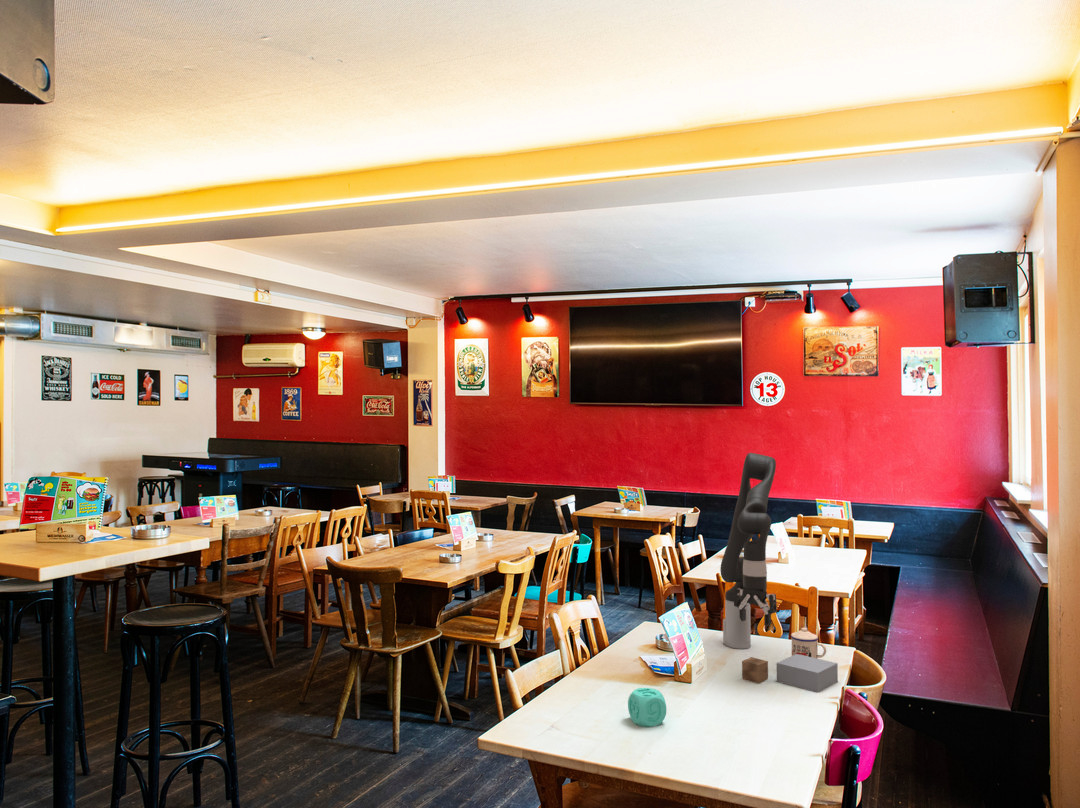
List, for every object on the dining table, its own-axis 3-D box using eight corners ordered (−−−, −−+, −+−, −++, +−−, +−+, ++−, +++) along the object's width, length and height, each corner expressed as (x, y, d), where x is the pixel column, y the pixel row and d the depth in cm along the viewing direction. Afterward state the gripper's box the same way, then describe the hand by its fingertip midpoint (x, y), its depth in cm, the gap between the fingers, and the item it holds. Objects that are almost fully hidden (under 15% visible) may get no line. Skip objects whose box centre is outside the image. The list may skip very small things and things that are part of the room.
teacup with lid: (787, 662, 260) (787, 628, 261) (796, 656, 267) (795, 623, 268) (822, 668, 253) (821, 634, 253) (830, 662, 260) (829, 629, 260)
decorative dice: (652, 714, 211) (652, 686, 212) (666, 724, 204) (666, 695, 204) (627, 718, 209) (627, 689, 209) (641, 728, 201) (641, 699, 201)
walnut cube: (742, 679, 242) (742, 660, 242) (751, 675, 246) (751, 657, 246) (758, 683, 238) (758, 665, 238) (768, 679, 242) (767, 661, 242)
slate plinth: (776, 681, 240) (776, 662, 240) (796, 671, 250) (796, 653, 250) (818, 692, 230) (818, 672, 230) (837, 681, 240) (837, 663, 240)
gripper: (729, 572, 246) (729, 621, 245) (769, 578, 236) (769, 629, 235) (741, 569, 251) (741, 617, 250) (780, 575, 241) (780, 625, 240)
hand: (755, 623), depth 243 cm, fingers open, 8 cm apart
